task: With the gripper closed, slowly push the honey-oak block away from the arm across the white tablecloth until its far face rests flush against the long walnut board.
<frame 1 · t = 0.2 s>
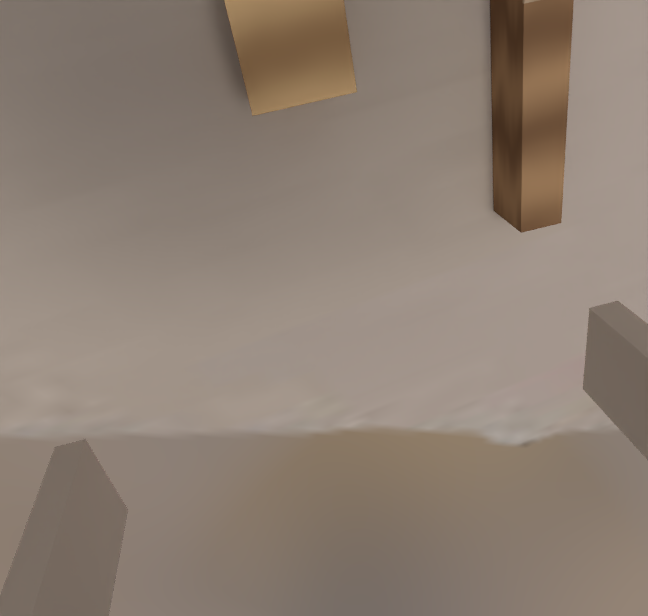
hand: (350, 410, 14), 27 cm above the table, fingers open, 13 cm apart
block: (282, 37, 34), on the table
board: (512, 21, 35), on the table
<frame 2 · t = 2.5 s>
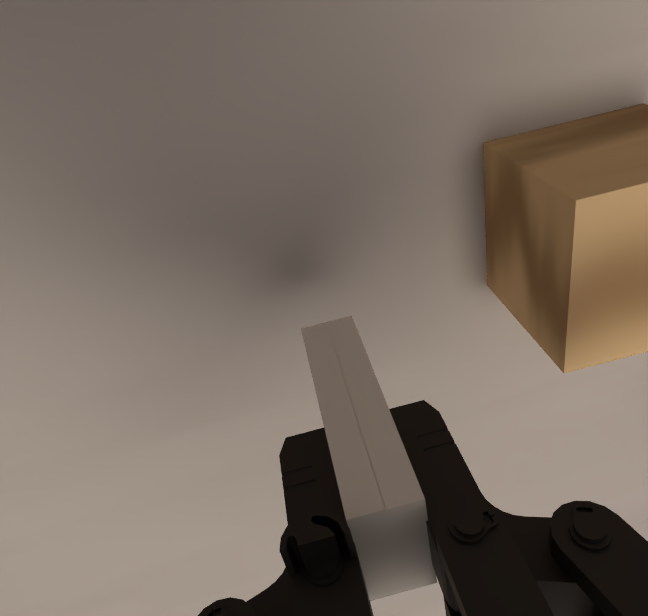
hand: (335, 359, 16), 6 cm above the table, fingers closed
block: (558, 200, 21), on the table
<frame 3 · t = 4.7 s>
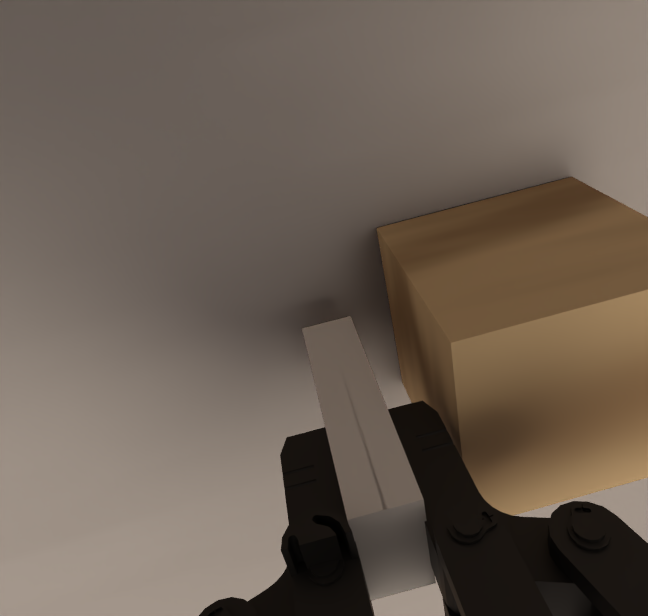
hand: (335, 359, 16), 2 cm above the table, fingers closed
block: (479, 288, 17), on the table, touching gripper
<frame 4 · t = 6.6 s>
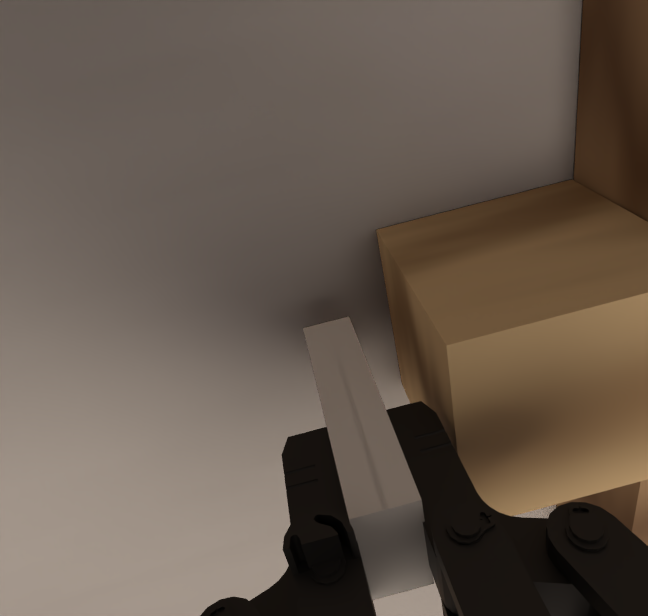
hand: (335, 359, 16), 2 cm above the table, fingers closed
block: (479, 290, 17), on the table, touching board, gripper
board: (608, 301, 18), on the table
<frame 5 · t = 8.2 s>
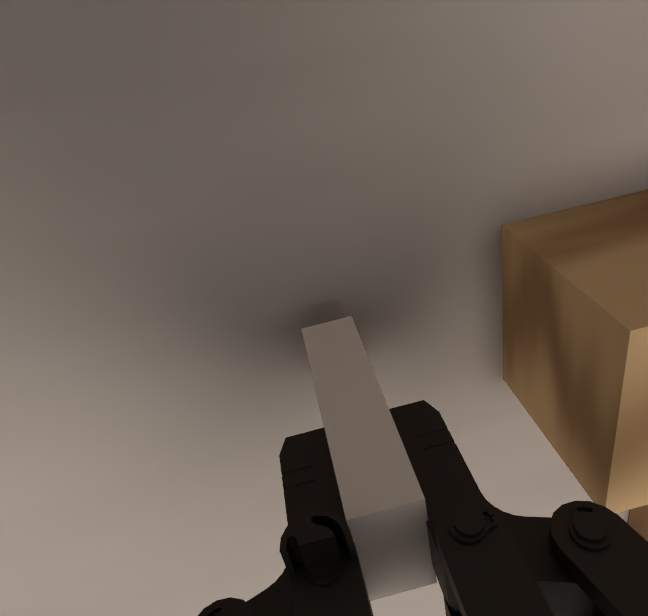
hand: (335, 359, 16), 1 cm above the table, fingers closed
block: (588, 286, 18), on the table
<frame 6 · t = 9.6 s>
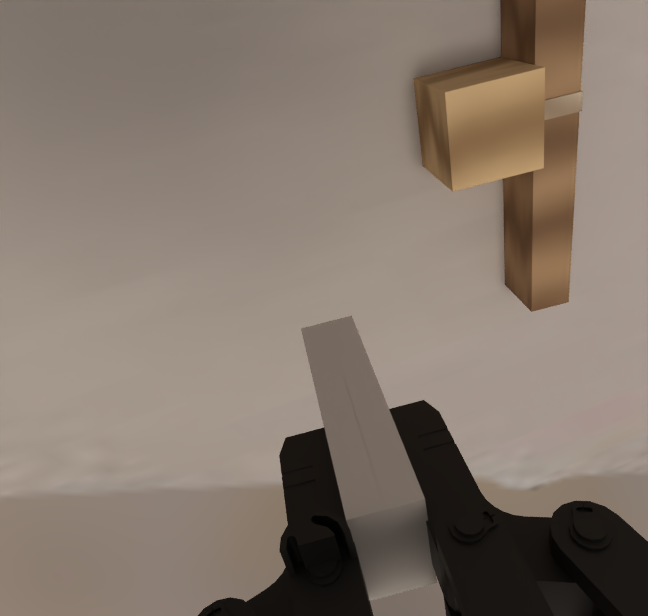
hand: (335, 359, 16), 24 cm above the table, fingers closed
block: (459, 113, 37), on the table
board: (522, 124, 38), on the table
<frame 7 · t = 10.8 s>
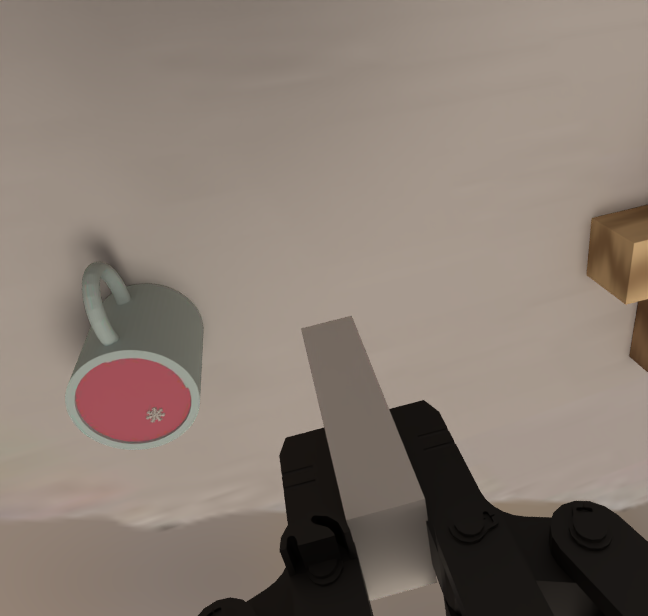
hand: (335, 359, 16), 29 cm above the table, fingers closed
mug 2: (139, 307, 46), on the table
block: (618, 239, 51), on the table
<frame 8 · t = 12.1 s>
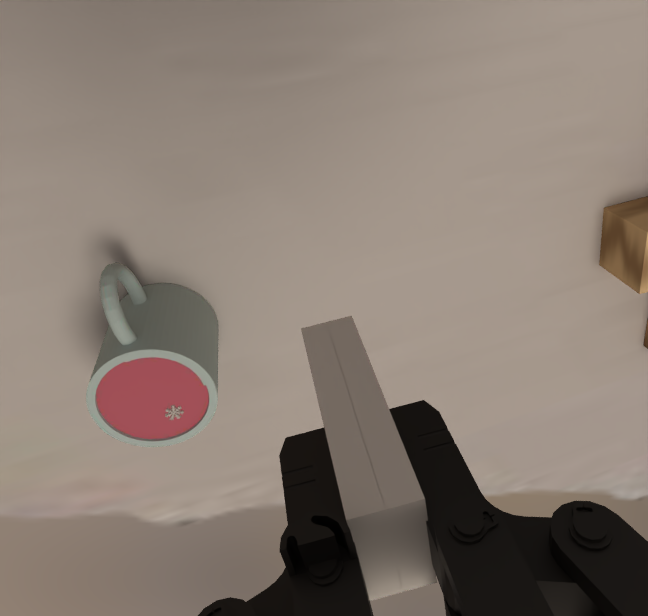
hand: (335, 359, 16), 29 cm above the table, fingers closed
mug 2: (155, 306, 47), on the table
block: (631, 229, 51), on the table
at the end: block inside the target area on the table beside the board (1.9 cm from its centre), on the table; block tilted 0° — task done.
